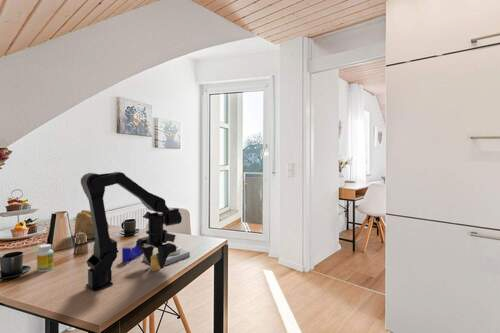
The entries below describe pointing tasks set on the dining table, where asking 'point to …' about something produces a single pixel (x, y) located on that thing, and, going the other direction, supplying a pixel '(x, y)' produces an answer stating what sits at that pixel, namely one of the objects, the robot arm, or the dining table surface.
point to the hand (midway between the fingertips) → (155, 266)
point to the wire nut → (154, 263)
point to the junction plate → (174, 255)
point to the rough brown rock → (85, 224)
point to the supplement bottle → (45, 258)
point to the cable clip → (130, 253)
